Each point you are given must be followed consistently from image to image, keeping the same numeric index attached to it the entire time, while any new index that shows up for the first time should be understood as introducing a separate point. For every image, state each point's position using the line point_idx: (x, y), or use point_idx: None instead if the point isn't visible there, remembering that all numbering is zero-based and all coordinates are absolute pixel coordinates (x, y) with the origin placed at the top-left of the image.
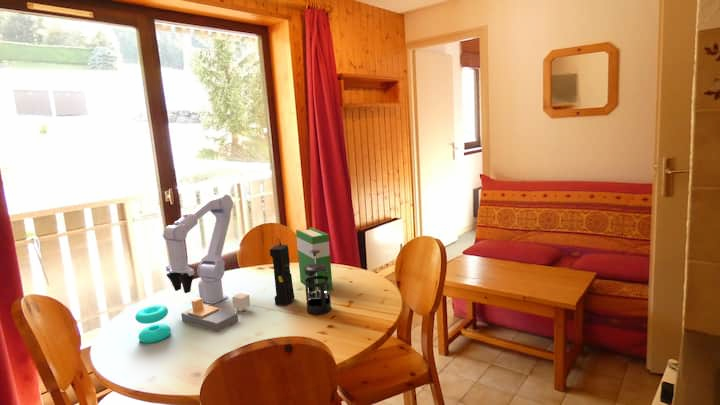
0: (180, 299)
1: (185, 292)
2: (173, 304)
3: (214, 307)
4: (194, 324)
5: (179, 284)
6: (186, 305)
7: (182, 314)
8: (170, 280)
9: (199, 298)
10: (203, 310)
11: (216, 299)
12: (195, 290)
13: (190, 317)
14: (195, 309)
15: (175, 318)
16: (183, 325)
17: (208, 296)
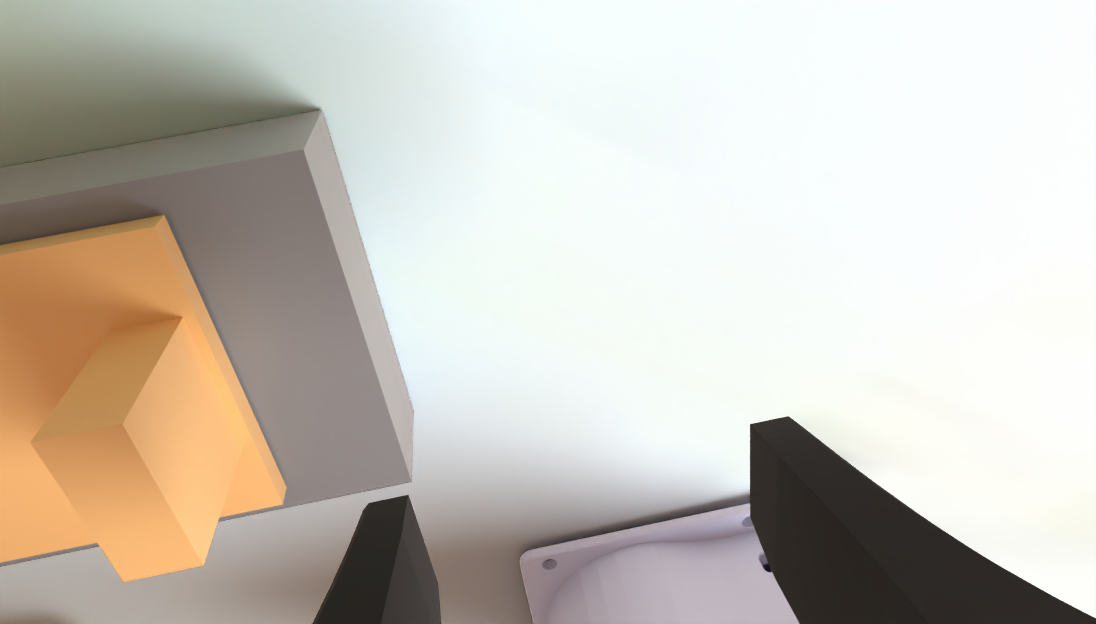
0: (1036, 393)
1: (362, 515)
2: (999, 284)
3: (33, 547)
4: (6, 167)
5: (808, 607)
6: (801, 368)
7: (267, 151)
8: (1066, 606)
9: (168, 556)
10: (21, 415)
11: (553, 617)
12: (1061, 566)
13: (41, 189)
14: (102, 349)
15: (520, 89)
16: (114, 41)
17: (621, 608)
